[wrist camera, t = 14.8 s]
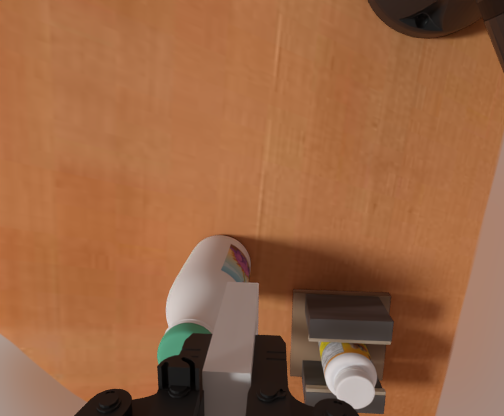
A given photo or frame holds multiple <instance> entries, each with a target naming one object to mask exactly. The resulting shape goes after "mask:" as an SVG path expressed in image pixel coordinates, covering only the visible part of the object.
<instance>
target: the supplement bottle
mask: <svg viewBox="0 0 504 416" xmlns="http://www.w3.org/2000/svg"><path fill="white" fill-rule="evenodd" d="M318 345H319V351H320V356H321V361H322V366H323V371H324V377H325V381H326V384H327V386H328V388H329V390H330V391H331V392H332V393H333V394H334V395H336V396H337V399H339V400H342V401H345V402H346V403H348V404H350V405H351V406H352V407H353V408H354V409H360V408H364V407H366V406H367V405H369V404H370V403H371V402H372V400H373V399H374V396H375V388H374V387H375V385H376V381H377V373H376V370H375V367H374V364H373V362H372V359H371V357H370V354H369V352H368V350H367V347H366V345H365V344H362V343H338V342H318Z"/></svg>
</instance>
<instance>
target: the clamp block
mask: <svg viewBox="0 0 504 416" xmlns="http://www.w3.org/2000/svg"><path fill="white" fill-rule="evenodd" d="M390 302H391V295H390V294H389V293H384V292H355V291H327V290H298V289H293V308H292V333H291V359H290V376H298V377H302V383H303V392H304V402H305V404H306V405H309V406H313V407H314V406H315V404H316V403H318V402H319V401H320V400H323V399H327V398H336V399H337V396H336V395H334V394H333V393H332V392H331V391H330V390H329V388H328V386H327V384H326V381H325V377H324V371H323V366H322V361H321V356H320V351H319V345H318V342H338V343H362V344H365V345H366V347H367V350H368V352H369V354H370V357H371V359H372V362H373V364H374V367H375V370H376V373H377V381H376V385H375V387H374V388H375V396H374V399H373V400H372V402H371V403H370V404H369V405H367V406H366V407H364V408H360V409H355V410H356V411H357V413H374V414H384V406H385V397H386V396H385V394H386V392H385V389H383V388H382V386H381V384H380V381H379V380H382V378H383V368H384V359H385V349H386V345H391V341H392V332H393V323H394V322H393V320H392V318H391V317H390V315H389V311H390Z"/></svg>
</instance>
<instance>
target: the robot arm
mask: <svg viewBox="0 0 504 416" xmlns="http://www.w3.org/2000/svg"><path fill="white" fill-rule="evenodd" d="M368 2H369V4H370V6H371V8H372V9H373V11H374V12H375V13H376V15H377V16H378V17H379V18H380V19H381V20H382V21H383V22H384V23H385V24H386V25H388V26H389V27H391V28H392V29H394V30H396V31H397V32H400V33H402V34H405V35H408V36H411V37H417V38H436V37H441V36H445V35H449V34H452V33H454V32H456V31H459V30H461V29H463V28H465V27H467V26H469V25H471V24H473V23H474V22H476V21H477V20H479V19H480V18H482V17H483V20H484V24H485V26H486V29H487V31H488V34H489V36H490V39H491V42H492V44H493V47H494V49H495V52H496V54H497V57H498V59H499V62H500V64H501V67H502V70H503V72H504V0H368ZM258 304H259V283H247V282H227V285H226V289H225V292H224V296H223V300H222V303H221V307H220V310H219V314H218V317H217V321H216V324H215V328H214V331H213V334H203V333H193V334H191V335H190V336H189V337H188V338H187V339H186V340H185V341H184V344H183V346H182V350H181V351H180V354H179V355H174V356H171V357H168V358H166V359H164V360H163V361H161V362H160V364H159V365H158V366H157V368H158V387H159V389H158V392H157V393H156V394H154V395H152V396H149V397H145V398H140V399H135V400H132V397H131V395H130V394H129V392H127V391H125V390H123V389H110V390H105V391H103V392H101V393H99V394H97V395H96V396H94V397H93V398H92V399H90V400H89V401H88V402H87V403H86V404H85V406H84V407H82V408H81V409H80V411H79V412H77V414H76V415H74V416H359V415H358V413H357V411H356V410H355V409H354V408H353V407H352V406H351V405H350V404H348V403H346V402H345V401H342V400H339V399H336V398H327V399H323V400H320V401H319V402H318V403H316V404H315V406H314V407H313V406H309V405H306V404H304V403H301V402H300V401H298V400H296V399H295V398H294V397H293V396H292V395H291V393H290V392H289V389H288V379H287V361H286V343H285V342H284V341H283V339H282V338H281V336H274V335H258Z"/></svg>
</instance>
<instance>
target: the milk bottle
mask: <svg viewBox="0 0 504 416" xmlns="http://www.w3.org/2000/svg"><path fill="white" fill-rule="evenodd" d="M250 270H251V261H250V257H249V254H248V252H247V250H246V249H245V247H244V246H243V245H242V244H241V243H240V242H239V241H237V240H235V239H234V238H231V237H228V236H224V235H215V236H210V237H208V238H205V239H203V240H202V241H201V242H199V243H198V244H197V246H196V247H195V248H194V249H193V251H192V253H191V254H190V256H189V257H188V259H187V261H186V262H185V264H184V266H183V267H182V269H181V271H180V272H179V274H178V276H177V278H176V279H175V281H174V283H173V285H172V287H171V289H170V292H169V295H168V298H167V303H166V318H167V322H168V326H169V328H168V329H167V330H166V332H165V335H164V336H163V338H162V340H161V342H160V345H159V347H158V352H157V359H158V363H159V364H160V362H161V361H163V360H164V359H166V358H168V357H171V356H174V355H179V354H180V351H181V350H182V346H183V344H184V341H185V340H186V339H187V338H188V337H189V336H190V335H191V334H193V333H203V334H213V331H214V328H215V324H216V321H217V317H218V314H219V310H220V307H221V303H222V300H223V296H224V292H225V289H226V285H227V282H247V283H249V277H250Z"/></svg>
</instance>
